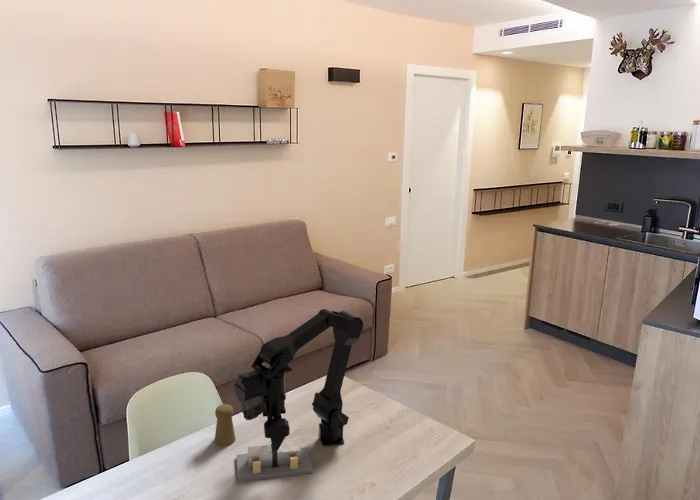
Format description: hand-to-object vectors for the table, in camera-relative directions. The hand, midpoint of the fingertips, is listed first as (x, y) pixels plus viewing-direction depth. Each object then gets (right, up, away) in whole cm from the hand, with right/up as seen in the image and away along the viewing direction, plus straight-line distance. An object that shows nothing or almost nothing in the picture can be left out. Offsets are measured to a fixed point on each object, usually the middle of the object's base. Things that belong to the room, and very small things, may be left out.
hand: (273, 440), depth 143 cm
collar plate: (0, -8, +2) cm, 8 cm away
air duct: (0, -6, +2) cm, 7 cm away
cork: (-16, -4, +12) cm, 21 cm away
